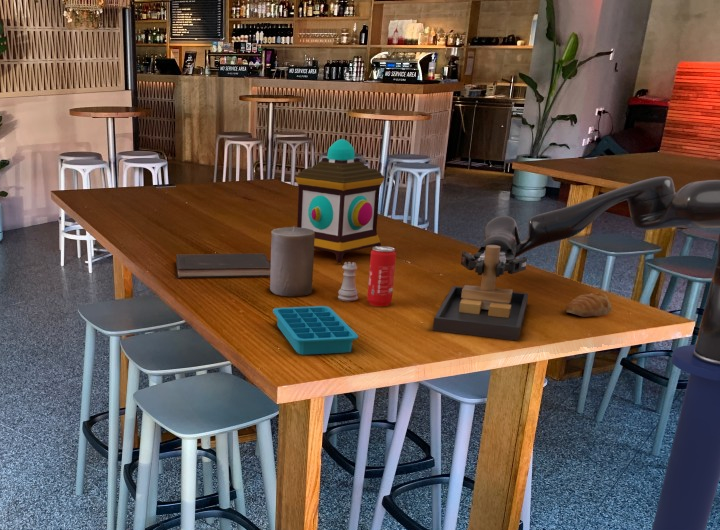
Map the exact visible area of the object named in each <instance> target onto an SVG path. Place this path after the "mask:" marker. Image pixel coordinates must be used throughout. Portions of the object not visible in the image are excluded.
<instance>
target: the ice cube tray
mask: <svg viewBox="0 0 720 530" xmlns="http://www.w3.org/2000/svg"><path fill="white" fill-rule="evenodd" d="M272 313H273V314H274V316H275V317H276V322H277V327H278V329H279V330H280V332H281V333H282V334H283V336H284V337H285V339H286V340H287V341H288V342H289V344H290V345H291V347H292V348H293V349H294V351H295V352H296V353H297V354H299V355H302V356H306V355H320V354H321V355H324V354H342V353H343V354H344V353H345V354H347V353H351V352H352V347H353V340H357V339H358V338H359V335H358V334H357V333H356V332H355V331H354V330H353V329H352V328H351V326H350V325H348V324H347V323H346V322H345V321H344V320H343V319H342V317H340V316H339V315H338V314H337V312H335V311H334V310H333V309H332V308H331V307H330V306H327V305H326V306H325V305H318V306H317V305H316V306H295V307H294V306H293V307H292V306H291V307H275V308H273V309H272Z"/></svg>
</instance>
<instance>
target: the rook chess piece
mask: <svg viewBox="0 0 720 530" xmlns="http://www.w3.org/2000/svg"><path fill="white" fill-rule="evenodd" d="M341 268H342V270H343V273H342V275H343V279H342V284H341V286H340V289H339V290H338V292H337V293H338V295H337V298H338V300H339V301H342V302H355V301H357V300H358V299H359V296H358V295H359V291H358V290H357V287H356V276H357V274H356V271H357V270H358V266H357V263H356V262H351V261H348V262H347V261H345V262H344V263H343V265H342V267H341Z"/></svg>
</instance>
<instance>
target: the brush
mask: <svg viewBox="0 0 720 530" xmlns="http://www.w3.org/2000/svg"><path fill="white" fill-rule="evenodd" d="M500 248H501V247H500V246H497V245H487V246H486V250H485V258H484V266H483V273H482V275H481V281H480V286H479V285H470V284H469V285H468V284H464V286H462V287H463V289H462V296H461V298H463V299H465V300H474V301H482V305H481V309H485V310H489V306H490V304H491V303H499V304H508V305H509V303H510V302H511V298H512V292H514V289H511V288H499V287H496V282H497V277H496V269H497V265H498V262H499V255H500Z"/></svg>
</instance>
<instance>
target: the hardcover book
mask: <svg viewBox="0 0 720 530" xmlns="http://www.w3.org/2000/svg"><path fill="white" fill-rule="evenodd" d="M175 257H176V258H175V262H176V263H175V264H176V276H177V279H212V278H213V279H217V278H219V279H221V278H270V274H271V273H270V272H271V261H269V259H268V257H267V255H266V253H257V252H256V253H198V254H197V253H196V254H194V253H193V254H191V253H190V254H176V255H175Z"/></svg>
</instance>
